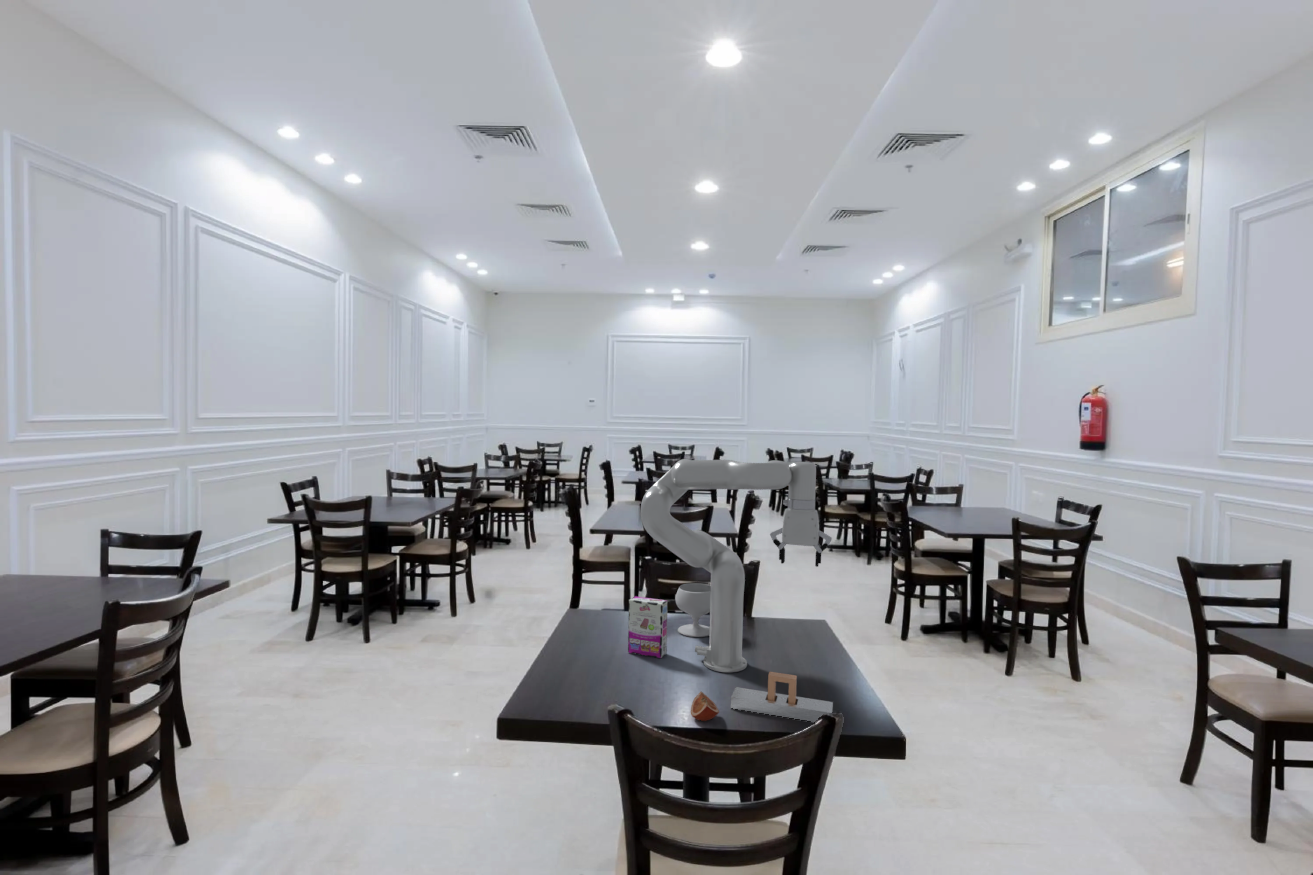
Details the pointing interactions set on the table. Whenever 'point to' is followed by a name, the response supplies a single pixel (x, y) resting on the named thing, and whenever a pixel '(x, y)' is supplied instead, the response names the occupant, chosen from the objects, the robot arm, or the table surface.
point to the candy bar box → (647, 626)
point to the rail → (779, 705)
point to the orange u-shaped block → (786, 679)
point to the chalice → (694, 607)
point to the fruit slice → (703, 708)
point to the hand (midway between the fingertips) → (799, 564)
